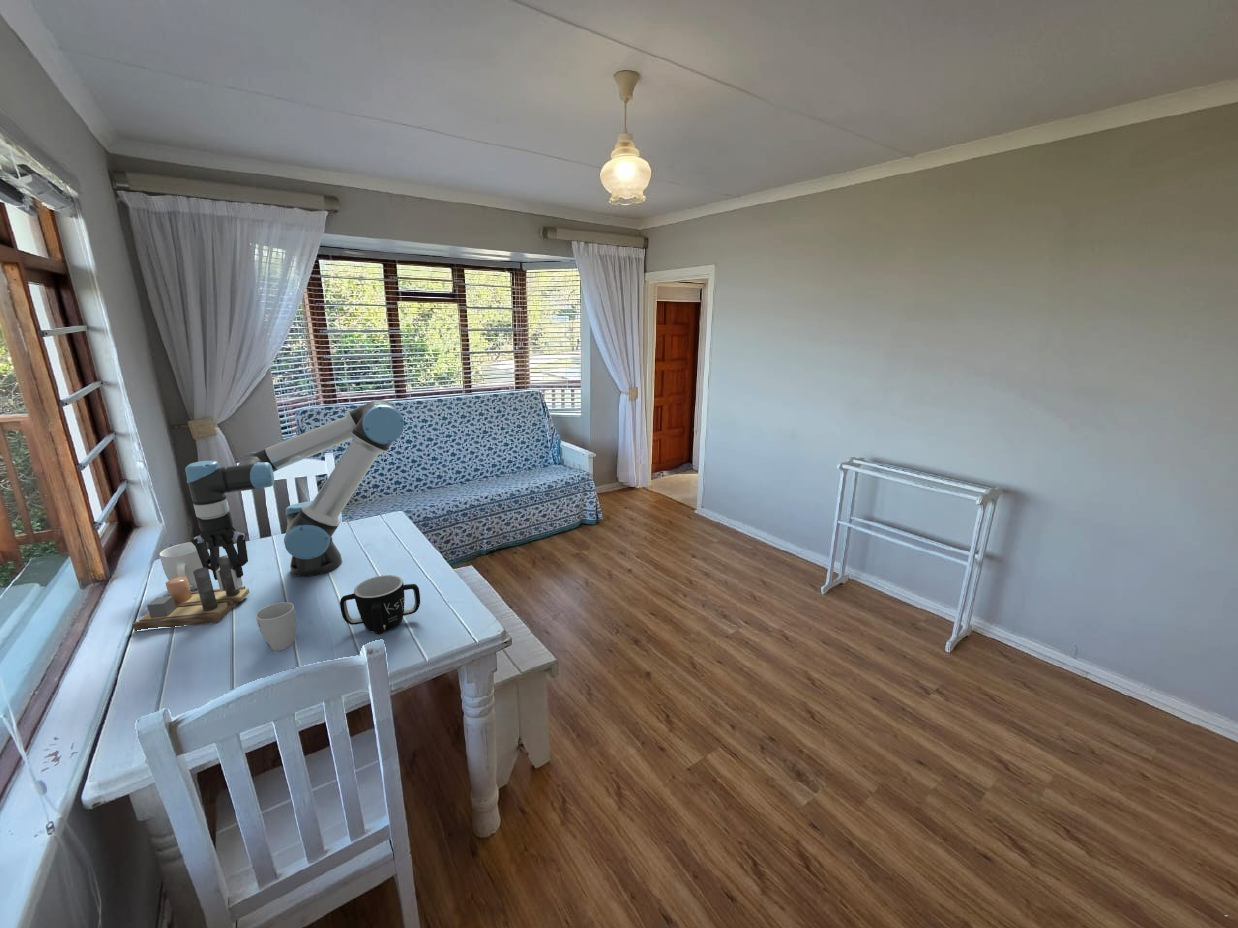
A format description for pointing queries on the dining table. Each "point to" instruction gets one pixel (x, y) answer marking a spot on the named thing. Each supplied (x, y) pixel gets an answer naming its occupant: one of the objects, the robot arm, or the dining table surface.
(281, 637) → the cup
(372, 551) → the dining table surface
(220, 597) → the strip
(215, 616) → the lane board
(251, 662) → the dining table surface
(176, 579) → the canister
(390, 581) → the mug
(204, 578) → the strip
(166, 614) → the rubber block
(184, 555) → the mug
